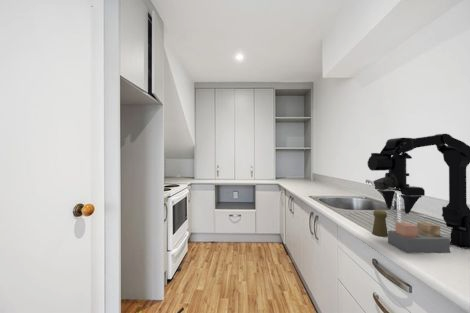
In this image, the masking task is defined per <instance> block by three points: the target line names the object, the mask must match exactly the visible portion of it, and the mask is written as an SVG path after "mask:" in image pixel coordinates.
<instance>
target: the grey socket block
mask: <svg viewBox="0 0 470 313" xmlns="http://www.w3.org/2000/svg"><path fill="white" fill-rule="evenodd" d="M387 233H388V236H387V244H389V245H391V246H393V247H394V248H396V249H398V250H401V251H403V252H405V253H406V254H441V253H442V254H447V253H451V251H450V250H451V245H450V241H451V238H449V237H446V236H442V235H440V237H426V236H424V235H421V234H418V233H417V237H403V236H400V235H398V234H396V230H387Z"/></svg>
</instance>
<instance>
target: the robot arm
mask: <svg viewBox="0 0 470 313" xmlns="http://www.w3.org/2000/svg"><path fill="white" fill-rule="evenodd" d="M430 146H436V148H437V151H438V152H439V153H441V154H442V156H443V161H444V163H445V164H446V165H447V167H448V204H447V205H446V206H442V208H441V212H442V214H441V217H443V218H442V220H443V221H444V223H445V224H446V227H447V228H451V229H450V231H451V232H450V244H451V245H453V246H457V247H459V248H461V249H470V207H469V206H468V204H467V200H468V199H467V168H468V166H469V165H470V145H468V144H467V143H465V141H462V140H460V139H457V138H455V137H453V136H452V135H450V134H449V133H437V134H434V135H428V136H422V137H416V138H414V137H413V138H412V137H396V138H389V139H387V140H386V142H385V145H384V146H383V148H382V149H381V151H380V152H372V153H371V152H370V156H369V158H368V159H367V168H368V169H369V170H370V171H372V172H373V171H374V172H375V171H376V172H377V171H388V172H385V174H384V176H383V177H380V178H377V179H374V180H372V182H373V184H374V189H375V190H376V191H377V192H378V193H380V194H381V195H382V197H383V199H384V202H385V205H386V208H387V209H391V208H392V205H393V201H394V197H395V192H400V193H401V194H400V195H399V196H400V197H401V198H402V199H403V205H404V207H403V208H404V213H405V215H407V214H410V212H411V211H412V209H413V208H414V205H415V204H416V203H417V201H418V200H419V199H420V198H422V197H424V196H426V195H425V189H424V187H422V186H414V185H413V186H411V185H410V184H409V183H407V177H410V173H408V172H407V160H409V159H412V158H413V157H412V155H410V154H408V152H411V151H413V150H415V149H417V148H424V147H430Z"/></svg>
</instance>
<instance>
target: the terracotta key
mask: <svg viewBox="0 0 470 313" xmlns="http://www.w3.org/2000/svg"><path fill="white" fill-rule="evenodd" d="M395 231H396V234H398V235H400V236H403V237H417V231H418V226H417V225H416V224H413V223H410V222H407V221H406V222H402V221H401V222H395Z"/></svg>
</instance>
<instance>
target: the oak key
mask: <svg viewBox="0 0 470 313" xmlns="http://www.w3.org/2000/svg"><path fill="white" fill-rule="evenodd" d="M416 226H418V231H417V233H418V234H421V235H424V236H426V237H440V236H441V225H439V224H436V223H433V222H428V221H427V222H422V221H421V222H420V221H419V222H418V221H417V225H416Z"/></svg>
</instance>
